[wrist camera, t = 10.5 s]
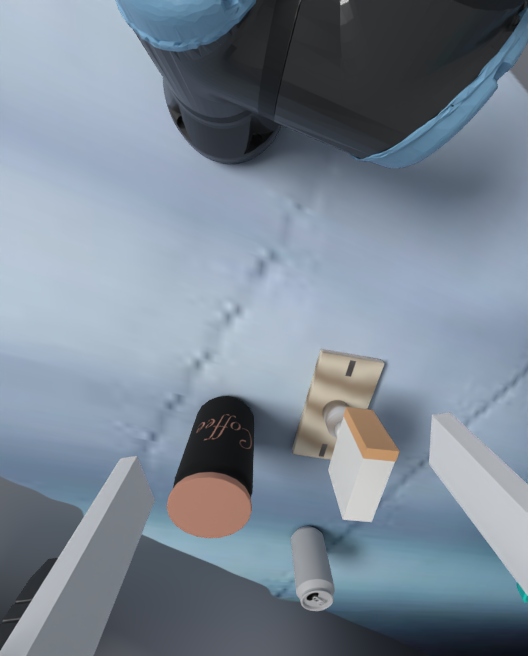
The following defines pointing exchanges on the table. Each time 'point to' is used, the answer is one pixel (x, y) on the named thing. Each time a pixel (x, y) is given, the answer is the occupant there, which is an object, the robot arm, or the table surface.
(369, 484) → the orange-capped white bar
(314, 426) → the lock board
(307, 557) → the can
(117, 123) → the table surface
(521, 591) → the table top decor
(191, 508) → the coffee jar
